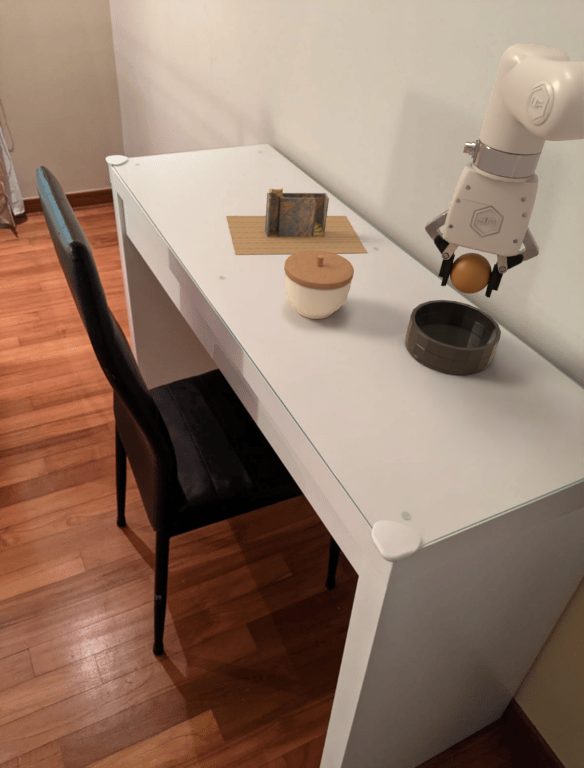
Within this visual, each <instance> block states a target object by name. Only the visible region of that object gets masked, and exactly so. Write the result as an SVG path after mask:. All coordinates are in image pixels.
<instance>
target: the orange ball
mask: <svg viewBox="0 0 584 768" xmlns="http://www.w3.org/2000/svg"><path fill="white" fill-rule="evenodd" d="M492 270H493V268H492V266H491V263H490V262H489V260H488V259H487V257H486V256H484V255H482V254H480V253H477V252H467V253H463V254H460V255H459V256H458V257H457V258H455V259H454V261H453V264H452V267H451V270H450V275H449V279H450V282H451V284H452V286H453V287H454V289H456V290H457V291H459V292H460V293H463V294H471V295H472V294H476V293H479V292H481V291H483V290H484V289H485V288H487V285H488V283H489V281H490V278H491V275H492Z"/></svg>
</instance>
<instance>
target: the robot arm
mask: <svg viewBox="0 0 584 768" xmlns="http://www.w3.org/2000/svg"><path fill="white" fill-rule="evenodd" d="M486 108H487V109H486V112H485V116H484V119H483V123H482V127H481V130H480V134H479V137H478V139H475V141H472V142H470V141H465V144H464V148H463V152H462V153H463V154H467V155H469V156H471V157H470V158H471V159H472V160H469V161H468V162H467V163H466V164H465V166H464V168H463V170H462V171H461V174H460V176H459V178H458V180H457V184H456V186H455V188H454V191H453V194H452V198H451V201H450V204H449V208H447V209H446V210H444V211H443V212H442V213H440V214H438V215H437V216H435V217H434V218H432V219H431V220H429V221H428V222H427V223H426V225H425V227H424V230H425V232H426V234H427V235H428V236H429V237H430V239H431V240H432V241H433V243H434V245H435V247H436V249H437V250H438V252H439V253H440V255H441V259H442V261H441V265H440V268H439V272H438V276H437V277H439V278H442V280H441V282H440V286H441V287H446V286H447V284H448V281H449V279H450V270H451V267H452V264H453V263H454V261H455V259H456V258H455V257H456V254H455V252H456V251H457V249H458V248H459V247H462V248H466V249H469V250H473V251H478V252H482V253H486V254H491V255H496V260H497V261H496V262H495V263H494V265H493V267H492V275H491V278H490V281H489V283H488V285H487V286H486V289H485V294H484V296H485V297H486V298H489V299H490V298H491V296H492V292H493V291H496V292H498V290H499V288H500V284H501V282H502V279H503V276H504V274H505V273H507V272H508V271H509V270H511V269H513V268H515V267H516V266H518V265H521V264H522V263H523V262H525V261H526V262H527V261H528V260H531V259H533V258H535V257H537V256H538V255H539V254H540V247H539V245H538V243H537V241H536V239H535V237H534V235H533V233H532V232H531V229H530V227H529V224H530V220H531V217H532V213H533V210H534V206H535V202H536V198H537V194H538V187H539V176H538V175H537V173H536V169H537V167H538V164H539V161H540V159H541V156H542V152H543V149H544V146H545V143H546V141H548V142H565V141H566V142H567V141H575V140H576V141H577V140H584V61H583V60H582V61H581V60H571V58H570V56H569V54H568V53H567V52H565V50H564V51H563V50H562V49H560V48H557V47H553V46H551V45H545V44H539V43H530V42H522V43H521V42H520V43H519V42H518V43H514V44H512V45H510V46H508V47H507V48H506V49H505V51H504V52H503V53H502V56H501V58H500V61H499V64H498V69H497V71H496V75H495V80H494V83H493V86H492V90H491V93H490V97H489V101H488V105H487V107H486ZM441 227H443V230H442V231H441V230H440V228H441ZM522 245H524V248H522V249H521V247H522Z"/></svg>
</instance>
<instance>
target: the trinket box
mask: <svg viewBox="0 0 584 768" xmlns="http://www.w3.org/2000/svg"><path fill="white" fill-rule="evenodd" d="M283 267H284V268H283V270H284V277H283V283H284V285H283V286H284V291H285V295H286V298H287V300H288V302H289V303H290V305H291V306H292V307H293V308H294V309H295V311H296V312H297V313H298V314H299V315H300V316H302V317H304V318H307V319H310V320H311V319H312V320H322V319H326V318H329V317H330V316H332V314H334V313H336V312H337V311H338V310H339V309H341V308H342V306H343V305H344V303H345V302H346V300H347V298H348V296H349V293H350V291H351V287H352V280H353V278H354V274H355V267H354V266H353V265H352V263H351V262H350V261H349V260H348V259H347V258H345V257H343V256H342V255H339V253H331V252H328V251H321V250H305V251H300V252H297V253H294V254H289V256H288V257H287V258H286V259H285V261H284V266H283Z"/></svg>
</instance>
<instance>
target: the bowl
mask: <svg viewBox="0 0 584 768" xmlns="http://www.w3.org/2000/svg"><path fill="white" fill-rule="evenodd" d="M501 335H502V330H501V328H500V326H499V324H498V322H497V321H496V320H495V319H494V318H493V317H492V316H491V315H489V314H488V313H486V312H485V311H484V310H483V309H481V308H478V307H476V306H473V305H471V304H468V303H464V302H461V301H457V300H447V299H436V300H435V299H434V300H428V301H425V302H422V303H419V304H418V305H417V306H415V307H414V308H413V309H412V311H411V314H410V317H409V320H408V325H407V328H406V333H405V339H404V344H405V348H406V350H407V352H408V353H409V354H410V355H411V357H412V358H414V360H415V361H417V362H418V363H419V364H421V365H423V366H425V367H427V368H429V369H430V370H433V371H435V372H439V373H442V374H447V375H454V376H470V375H475V374H478V373H481V372H483V371H485V370H486V369H487V368H488V367H489V366H490V365H491V363H492V361H493V360H494V357H495V354H496V351H497V349H498V346H499V344H500V340H501Z"/></svg>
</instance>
